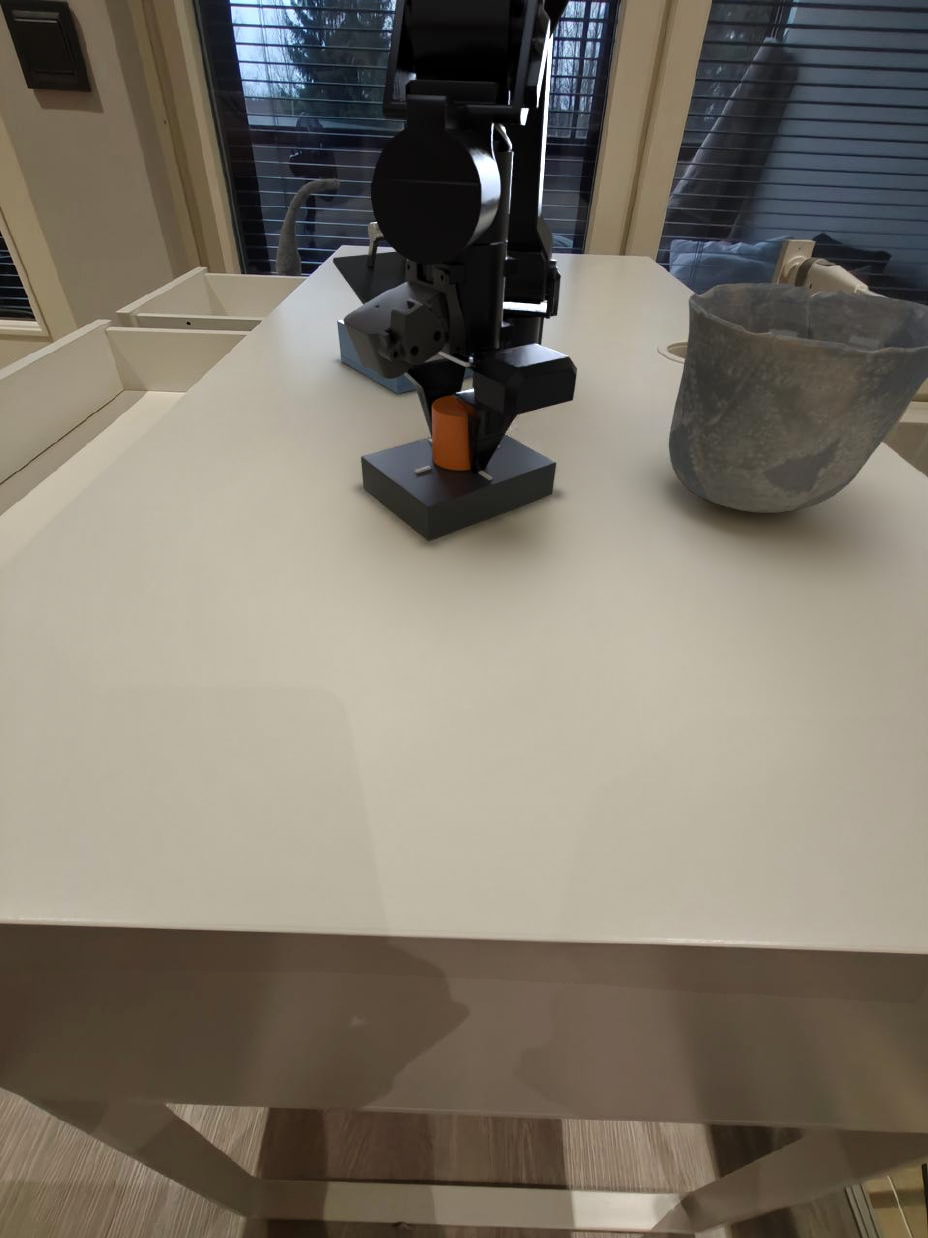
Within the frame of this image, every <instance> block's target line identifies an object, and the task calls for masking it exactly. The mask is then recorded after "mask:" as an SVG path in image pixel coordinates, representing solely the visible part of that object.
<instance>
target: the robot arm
mask: <svg viewBox="0 0 928 1238" xmlns="http://www.w3.org/2000/svg"><path fill="white" fill-rule="evenodd" d="M569 2H570V0H395V6H394V14H393V21H392V29H391V37H390V43H389V44H390V45H389V52H388V59H387V68H386V74H385V83H384V89H383V90H384V91H383V97H382V116H383V119H384V120H391V121H393V120H394V121H406V128H404V129H402V130H401V131H399V132H398V133H397V134H395V135H394V136H393V137H391V138H390V140H389V141H388V142H387V144H386V145H385V146H384V147H383V149H382V150H381V152H380V154H379V156H378V159H377V161H376V163H375V167H374V171H373V176H372V181H371V183H370V202H371V206H372V207H371V208H372V213H373V216H374V219H375V220H376V222H377V224H378V227H379V229H380V231H381V233H382V234H383V236H384V237H385V239H386V241H385V242H387V244H388V245H389V246H390V247H391V248H392V249H393V251H396V252H397V253H399V254H400V255H402V256H403V257H405V258H406V259H408V260H407V261H406V279H405V283H404V284H402V285H400V286H398V287H396V288H394V289H391V290H388V291H386V292H384V293H382V294H381V295H379V296H377V297H376V298H374V299H372V300H371V301H369V302H367V303H366V304H364V305H363V304H362V305H360V306H359V307H357V308H355V309H354V310H353V311H351V312H349V313H347V314H346V315H345V316H344V318H343V319H342V320H343V322H344V325H345V327H346V330H347V332H348V334H349V337H350V339H351V342H352V344H353V347H354V349H355V351H356V354H357V356H358V359H359V361H360V363H361V365H362V366H363V367H365V368H367V367H368V368H370V369H372V370H374V371H376V372H377V373H378V374H379V375H380V376H381V377H383V378H385V379H394V378H397V377H400V376H402V375H403V374H404V375H405V376H406V377H407V378H408V379H409V380H411V382H412V383H413V385H414V387H415V390H414V391H415V393H416V395H417V397H418V400H419V403H420V406H421V409H422V412H423V416H424V418H425V423H426V425H427V428H428V431H429V434H430V437H431V438H432V404H433V402H434V401H435V400H437V399H439V398H441V397H445V396H451V395H453V396H454V398H455V399H456V400H457V401H458V402H459V403H460V404H461V405H462V406H463V408H464V409H465V410H466V411H467V415H468V441H469V460H470V467H471V472H473V473H474V474H476V473H479V472H480V471H484V470H485V468H486V466H487V465H488V463H489V461H490V459H491V458H492V456H493V454H494V452H495V451H496V449H497V447H498V445H499V444H500V442H501V440H502V438H503V437H504V435H506V433H507V432H508V430H509V429H510V427H511V425H512V424H513V422H514V421H515V419H516V418H517V416H520V415H523V414H528V413H530V412H535V411H539V410H541V409H545V408H549V407H550V408H551V407H553V406H557V405H560V404H564V403H569V402H572V401H574V396H575V389H576V382H577V376H578V374H577V373H578V368H577V366H576V365H575V363H574V361H573V360H572V358H571V357H570V356H569V355H566V354H565V353H562V352H558V351H556V350H553V349H551V348H549V347H545V346H543V345H542V342H543V334H544V325H545V323H544V322H545V319H546V320H550V319H551V317H557V316H558V311H559V303H560V293H561V282H562V281H561V280H562V275H561V273H560V272H559V271H558V268H559V267H558V261H557V259H553V246H554V236H553V234H552V231H551V230H550V228H549V226H548V224H547V222H546V220H545V218H544V216H543V213H542V206H543V191H544V190H543V189H544V175H545V159H546V147H547V146H546V145H547V129H548V115H549V101H550V100H549V99H550V85H551V70H552V55H553V40H554V32H555V30H556V28H557V26H558V24H559V22H560V21H561V18H562V16H563V15H564V12H565V11H566V8H567V7H568V4H569ZM545 301H546V303H545ZM472 354H474V355H472ZM466 368H468V369H470V370H472V371H473V376H472V386H471V387H472V389H466V390H463V384H464V380H465V378H464V376H465V371H466Z"/></svg>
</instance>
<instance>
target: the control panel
mask: <svg viewBox="0 0 928 1238" xmlns="http://www.w3.org/2000/svg"><path fill="white" fill-rule="evenodd" d="M360 463H361V474H362V484H363V490H365V491H366V492H367V493H369V494H370V496H372V497H373V498H374V499H376V500H377V501H378V502H380V503H381V504H382V506H385V507H386V508H387V509H388V510H389V511H390V512H392V513H393V514H394V515H396V516H397V517H398V518H399V519H400V520H401V521H403V522H404V523H405V524H407V526H409V527H410V528H412V529H413V530H414V531H415V532H416V533H418V534H419V535H420V536H421V537H422V538H424V539H425V540H426V541H427V542H431V541H433V540H435V539H438V538H441V537H443V536H447V535H449V534H452V533H454V532H457V531H460V530H461V529H465V528H468V527H470V526H472V525H475V524H478V523H480V522H483V521H485V520H488V519H491V518H493V517H496V516H498V515H499V516H500V515H501V514H504V513H506V512H509V511H511V510H514V509H517V508H519V507H522V506H524V505H527V504H530V503H532V502H535V501H538V500H540V499H543V498H546V497H549V496H551V495H553V492H554V484H555V476H556V470H557V462H556V461H555V460H553V459H551V458H549V457H547V456H546V455H544V454H542V453H540V452H538V451H537V450H535V449H532V448H531V447H530V446H527V445H525V444H524V443H522V442H520V441H518V440H517V439H515V438H513V437H511V436H509V435H507V434H505V435H504V437H503V438H502V440H501V442H500V444H499V445H498V447H497V449H496V451H495V452H494V454H493V456H492V458H491V459H490V461H489V463H488V465H487V466H486V468H485V470H484V471H480V472H479V473H476V474H474V473H473V472H471V470H464V471H456V470H449V469H445V468H442V467H440V466H438V465H437V464H435V463H434V461H433V459H432V438H431V436H428V437H425V438H422V439H418V440H415V441H411V442H408V443H404V444H401V445H397V446H394V447H393V446H392V447H390V448H386V449H383V450H380V451H376V452H372V453H368V454H365V455H361V456H360Z"/></svg>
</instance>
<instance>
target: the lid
mask: <svg viewBox="0 0 928 1238" xmlns="http://www.w3.org/2000/svg"><path fill="white" fill-rule="evenodd" d="M367 226H368V227H367V234H368V238H369V247H368V253H365V254H353V255H343V256H336V257H333V258H332V263H333V265H334V266H335V268H336V269H337V271H338V272H339V273H340V275H341V276H342V278H343V279H344V280H345V282H346V283H347V284H348V285H349V288H351V289H352V290H351V291H352V292H353V293H354V294H355V295H356V296H357V298H358V300H359V301H360V303H361V304H362V305H364V304H366V303H367V302H369V301H371V300H372V299H374V298H376V297H377V296H379V295H381V294H382V293H384V292H386V291H388V290H391V289H394V288H396V287H398V286H400V285H402V284H404V283H405V279H406V261H407V260H408V259H406V258H405V257H403V256H402V255H400V254H399V253H397V252H396V251H395V250H393V251H385V252H378V248H379V242H387V241H386V239H385V237H384V236H383V234H382V233H381V231H380V229H379V227H378V224H377V222H370V223H369V224H368V225H367Z"/></svg>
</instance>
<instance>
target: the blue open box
mask: <svg viewBox="0 0 928 1238" xmlns="http://www.w3.org/2000/svg"><path fill="white" fill-rule="evenodd" d="M343 320H344V319H340V320H337V321H336V324H337V333H338V334H337V335H338V343H339V350H340V351H339V353H340V361H341V362H342V363H344V364H345V365H347V366H349V367H350V368H352V369H354V370H356V371H357V372H359V373H361V374H363V375H365V377H368V378H370V379H371V380H373V381H375V382H376V383H378V384H380V385H381V386H383V387H385V388H387V389H388V390H389V391H391V392H393V393H395V394H397V395H398V394H402V393H407V392H412V391H416V390H415V387H414V385H413V383H412V382H411V380H409V379H408V378H407V377H406V376H405V375H404V374H403V375H402V376H400V377H397V378H394V379H385V378H383V377H381V376H380V375H379V374H378V373H377V372H376V371H374V370H372V369H370V368H368V367H367V368H365V367H363V366H362V365H361V363H360V361H359V359H358V356H357V354H356V351H355V349H354V347H353V344H352V342H351V339H350V337H349V334H348V332H347V330H346V327H345V325H344V322H343ZM472 355H474V354H472ZM467 378H473V371H472V370H470V369H468V368H466V371H465V376H464V379H467Z"/></svg>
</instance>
